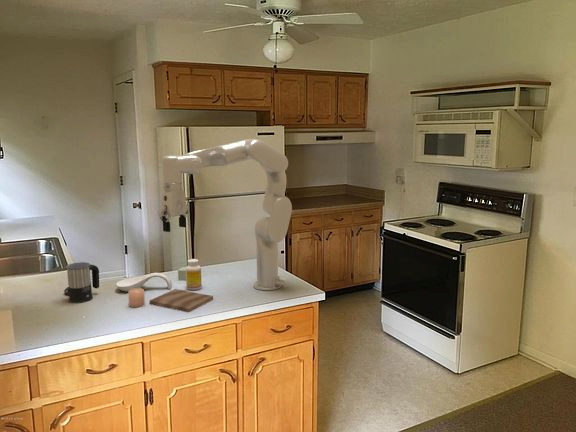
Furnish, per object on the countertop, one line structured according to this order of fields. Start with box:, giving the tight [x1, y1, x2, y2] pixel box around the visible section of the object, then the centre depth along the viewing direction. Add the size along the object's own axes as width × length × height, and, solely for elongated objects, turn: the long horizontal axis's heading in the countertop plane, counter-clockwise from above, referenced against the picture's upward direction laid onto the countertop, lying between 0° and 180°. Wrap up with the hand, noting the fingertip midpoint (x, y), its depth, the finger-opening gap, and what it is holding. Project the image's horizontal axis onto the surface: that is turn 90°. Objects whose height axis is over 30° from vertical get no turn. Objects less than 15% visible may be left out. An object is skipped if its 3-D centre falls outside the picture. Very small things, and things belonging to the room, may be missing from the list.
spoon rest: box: [115, 272, 173, 293], centre depth 215 cm, size 24×12×7 cm, turn 97°
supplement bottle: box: [185, 258, 202, 291], centre depth 216 cm, size 7×7×13 cm
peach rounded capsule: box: [128, 287, 145, 308], centre depth 196 cm, size 6×6×6 cm
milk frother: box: [63, 261, 100, 303], centre depth 205 cm, size 14×16×15 cm
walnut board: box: [149, 288, 214, 313], centre depth 200 cm, size 20×16×2 cm
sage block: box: [177, 266, 187, 282], centre depth 229 cm, size 5×5×5 cm
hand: (174, 229), depth 195 cm, fingers open, 9 cm apart
